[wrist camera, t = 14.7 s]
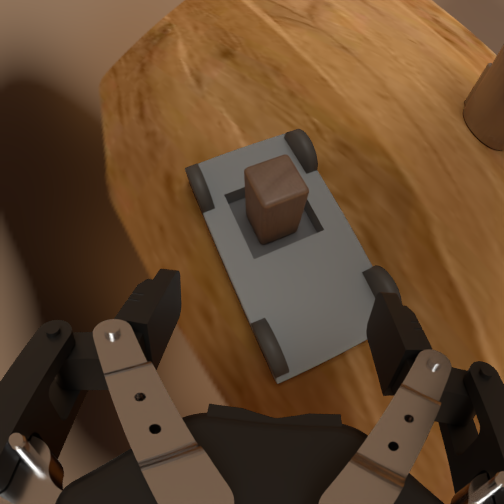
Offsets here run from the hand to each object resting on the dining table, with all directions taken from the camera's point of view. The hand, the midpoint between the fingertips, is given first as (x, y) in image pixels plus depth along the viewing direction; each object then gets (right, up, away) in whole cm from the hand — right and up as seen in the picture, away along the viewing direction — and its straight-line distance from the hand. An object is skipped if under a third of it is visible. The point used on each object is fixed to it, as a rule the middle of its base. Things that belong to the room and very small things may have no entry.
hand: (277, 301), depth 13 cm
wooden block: (+1, +5, +19) cm, 20 cm away
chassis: (+2, +2, +19) cm, 19 cm away
